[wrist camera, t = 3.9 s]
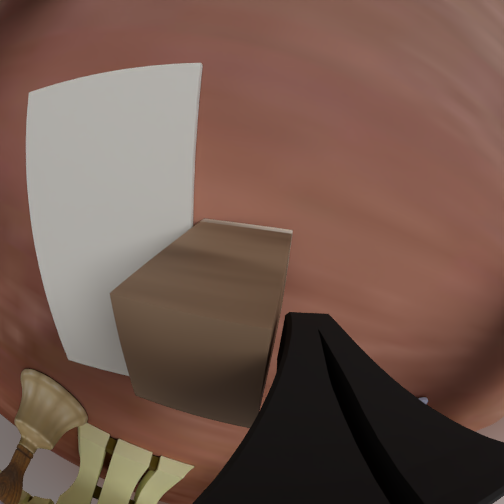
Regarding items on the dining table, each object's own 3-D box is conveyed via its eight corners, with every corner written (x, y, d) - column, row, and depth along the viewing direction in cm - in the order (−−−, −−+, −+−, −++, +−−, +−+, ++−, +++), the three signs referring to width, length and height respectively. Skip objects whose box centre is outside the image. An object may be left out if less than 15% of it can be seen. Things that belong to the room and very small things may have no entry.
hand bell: (103, 427, 21) (58, 554, 6) (55, 419, 22) (9, 520, 7) (52, 368, 18) (-26, 508, 3) (10, 366, 19) (-56, 470, 4)
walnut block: (281, 308, 14) (255, 428, 7) (203, 294, 14) (135, 395, 8) (292, 230, 12) (271, 329, 6) (204, 218, 13) (109, 293, 6)
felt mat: (197, 383, 17) (196, 387, 16) (70, 356, 17) (68, 359, 16) (202, 65, 10) (201, 62, 10) (33, 92, 10) (29, 92, 9)
